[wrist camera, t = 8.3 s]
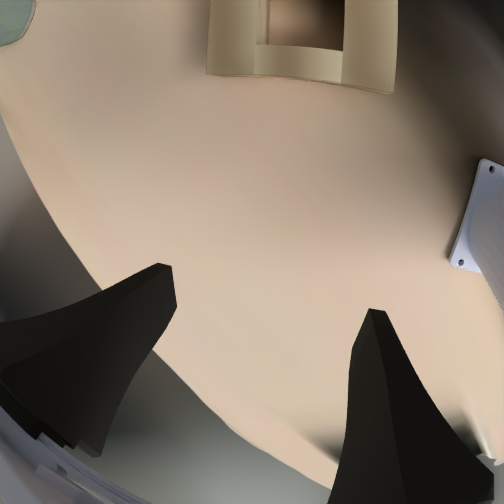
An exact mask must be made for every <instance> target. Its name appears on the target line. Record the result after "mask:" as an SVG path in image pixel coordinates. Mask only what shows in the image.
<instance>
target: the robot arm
mask: <svg viewBox="0 0 504 504" xmlns="http://www.w3.org/2000/svg"><path fill="white" fill-rule="evenodd" d="M490 166H492V171H491V172H489V168H490ZM459 260H462V262H460V263H458V262H459ZM449 263H450V265H451V266H452V267H456V268H460V269H464V270H468V271H473V272H477V273H481V274H483V275H484V277H485V279H486V281H487V282H488V284H489V286H490V288H491V290H492V291H493V293H494V295H495V297H496V299H497V301H498V303H499V305H500V307H501V309H502V311H503V313H504V166H501V165H499V164H497V163H494V162H492V161H490V160H487V159H481V160H480V162H479V164H478V169H477V173H476V177H475V181H474V185H473V188H472V192H471V195H470V199H469V202H468V206H467V209H466V212H465V215H464V218H463V221H462V224H461V227H460V230H459V233H458V235H457V238H456V241H455V244H454V246H453V249H452V251H451V254H450V256H449ZM176 308H177V302H176V296H175V289H174V281H173V274H172V266H169V265H165V264H161V263H156V264H154V265H152V266H150V267H148V268H146V269H144V270H142V271H140V272H138V273H136V274H134V275H132V276H130V277H128V278H126V279H124V280H122V281H120V282H119V283H117V284H115V285H113V286H111V287H109V288H107V289H105V290H103V291H101V292H99V293H96V294H94V295H92V296H90V297H88V298H86V299H84V300H81V301H79V302H77V303H74V304H72V305H69V306H66V307H64V308H61V309H58V310H54V311H51V312H48V313H45V314H42V315H38V316H34V317H30V318H26V319H20V320H15V321H8V322H0V496H1V497H2V499H3V500H4V502H5V503H6V504H106V502H105V501H104V500H102V499H101V498H100V497H98V496H97V495H96V494H94V493H93V492H91V491H90V490H88V489H87V488H85V487H83V486H82V485H80V484H78V483H76V482H75V481H73V480H71V479H70V478H68V477H67V472H69V473H70V474H71V475H73V476H74V477H75V478H77V479H78V480H79V481H81V482H82V483H84V484H85V485H87V486H88V487H90V488H91V489H93V490H94V491H96V492H97V493H99V494H101V495H102V496H104V497H105V498H107V499H109V500H110V501H112V502H114V503H115V504H153V503H151V502H149V501H147V500H145V499H143V498H141V497H139V496H137V495H135V494H133V493H131V492H129V491H128V490H126V489H124V488H122V487H120V486H118V485H117V484H115V483H113V482H112V481H110V480H108V479H106V478H105V477H103V476H102V475H100V474H98V473H97V472H95V471H94V470H92V469H91V468H89V467H88V466H86V465H85V464H83V463H82V462H80V461H79V460H77V459H76V458H75V457H73V456H72V455H70V454H69V453H68V452H66V451H65V450H64V449H63V447H64V446H65V444H66V445H67V446H69V447H70V448H72V449H74V448H75V447H76V446H77V447H78V448H79V449H81V450H82V451H84V452H85V453H87V454H88V455H90V456H91V457H99V456H101V454H102V450H103V447H104V444H105V441H106V437H107V434H108V431H109V429H110V426H111V424H112V421H113V418H114V416H115V414H116V411H117V409H118V407H119V405H120V402H121V400H122V398H123V396H124V394H125V392H126V390H127V388H128V386H129V384H130V382H131V380H132V378H133V377H134V375H135V373H136V372H137V370H138V368H139V367H140V366H141V364H142V363H143V361H144V360H145V358H146V357H147V355H148V354H149V353H150V351H151V350H152V348H153V347H154V345H155V344H156V343H157V341H158V340H159V338H160V337H161V335H162V334H163V332H164V331H165V329H166V328H167V326H168V324H169V322H170V320H171V318H172V316H173V314H174V312H175V310H176ZM66 471H67V472H66ZM493 500H494V474H493V473H492V472H491V471H490V470H489V469H488V468H487V467H486V466H485V465H484V464H483V463H481V461H480V460H479V459H478V458H477V457H476V456H475V455H474V454H473V453H472V452H471V451H470V450H469V449H468V447H467V446H466V445H465V444H464V443H463V442H462V441H461V439H460V438H459V437H458V436H457V434H456V433H455V432H454V431H453V429H452V428H451V427H450V425H449V424H448V422H447V421H446V420H445V418H444V417H443V416H442V414H441V413H440V411H439V410H438V408H437V407H436V405H435V404H434V402H433V401H432V399H431V397H430V396H429V394H428V393H427V391H426V389H425V388H424V386H423V384H422V383H421V381H420V379H419V377H418V375H417V374H416V372H415V370H414V368H413V366H412V364H411V362H410V360H409V358H408V356H407V354H406V352H405V350H404V348H403V346H402V344H401V342H400V340H399V338H398V336H397V334H396V332H395V330H394V328H393V325H392V323H391V321H390V319H389V317H388V315H387V313H386V312H385V311H382V310H376V309H371V308H369V309H368V312H367V314H366V317H365V319H364V322H363V324H362V326H361V329H360V331H359V333H358V336H357V338H356V340H355V342H354V345H353V347H352V353H351V360H350V368H349V382H348V406H347V422H346V432H345V439H344V444H343V449H342V453H341V458H340V462H339V466H338V470H337V474H336V478H335V481H334V484H333V488H332V491H331V495H330V497H329V500H328V503H327V504H491V503H492V501H493Z"/></svg>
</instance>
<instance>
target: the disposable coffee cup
mask: <svg viewBox="0 0 504 504" xmlns="http://www.w3.org/2000/svg"><path fill="white" fill-rule="evenodd" d="M35 6H36V1H35V0H0V47H1V46H5V45H8V44H11V43H13V42H14V41H17V40H18V39H20V38H21V37H22V36H23V35H24V33H25V32H26V30H27V29H28V27H29V25H30V23H31V20H32V18H33V15H34V11H35Z"/></svg>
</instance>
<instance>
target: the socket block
mask: <svg viewBox="0 0 504 504" xmlns="http://www.w3.org/2000/svg"><path fill="white" fill-rule="evenodd" d="M269 10H270V0H211V3H210V16H209V30H208V47H207V67H206V74H207V75H216V76H242V77H270V78H284V79H296V80H306V81H314V82H322V83H329V84H336V85H342V86H348V87H353V88H358V89H364V90H368V91H373V92H378V93H382V94H393V92H394V82H395V70H396V56H397V32H398V0H345V20H344V41H343V51H336V50H329V49H321V48H312V47H301V46H286V45H267V44H268V27H269Z"/></svg>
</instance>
